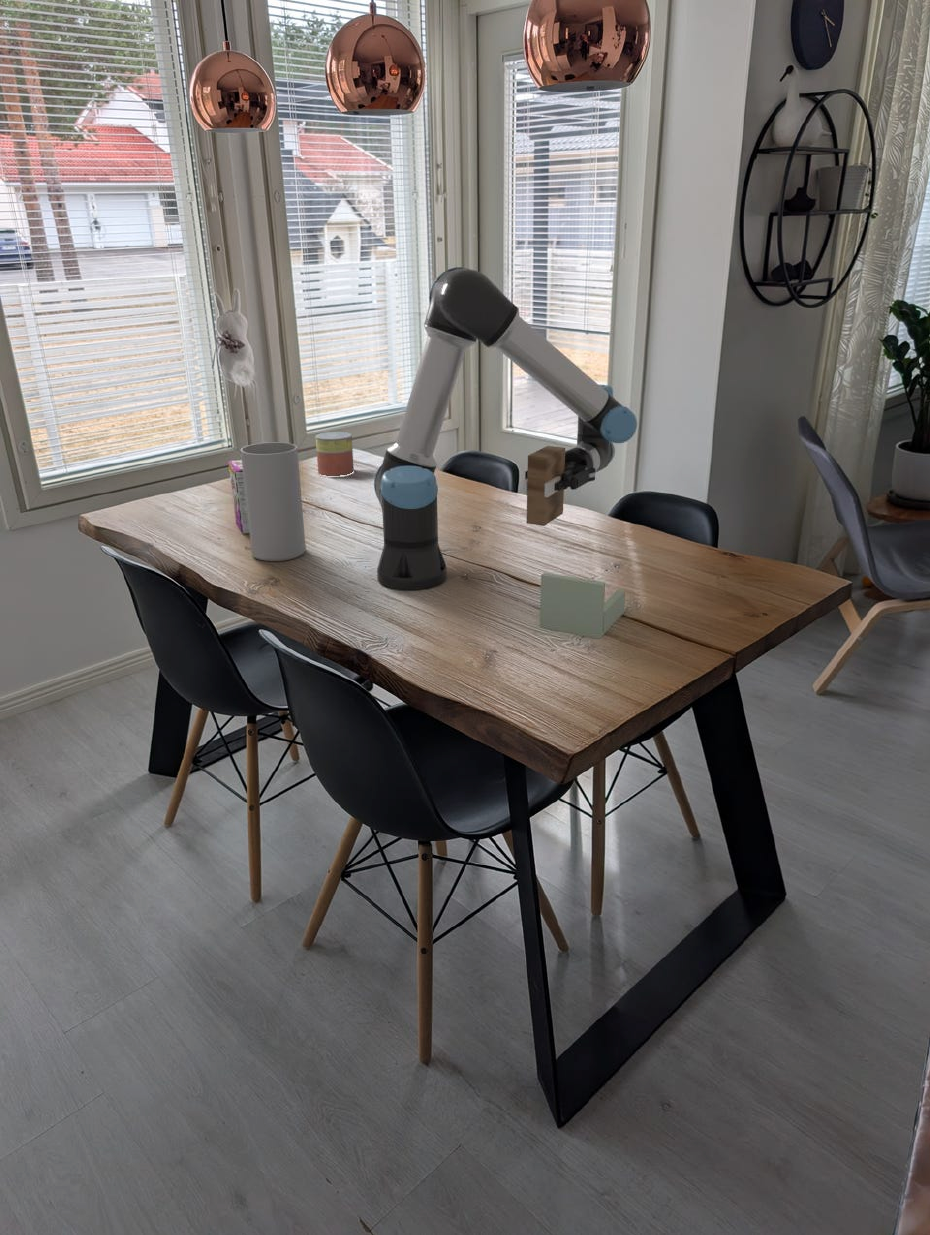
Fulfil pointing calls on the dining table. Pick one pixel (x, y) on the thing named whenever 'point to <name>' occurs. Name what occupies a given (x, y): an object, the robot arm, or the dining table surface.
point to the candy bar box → (239, 495)
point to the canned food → (334, 453)
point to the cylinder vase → (273, 500)
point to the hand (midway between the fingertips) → (535, 489)
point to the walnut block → (539, 472)
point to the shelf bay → (578, 605)
